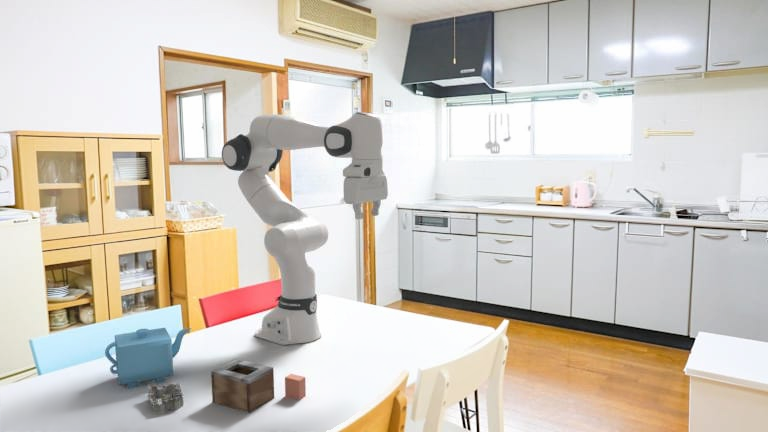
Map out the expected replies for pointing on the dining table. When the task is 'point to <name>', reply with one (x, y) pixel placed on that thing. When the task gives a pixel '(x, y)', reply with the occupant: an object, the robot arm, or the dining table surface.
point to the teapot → (144, 355)
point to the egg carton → (165, 397)
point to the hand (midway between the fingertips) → (367, 217)
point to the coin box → (242, 385)
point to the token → (295, 386)
